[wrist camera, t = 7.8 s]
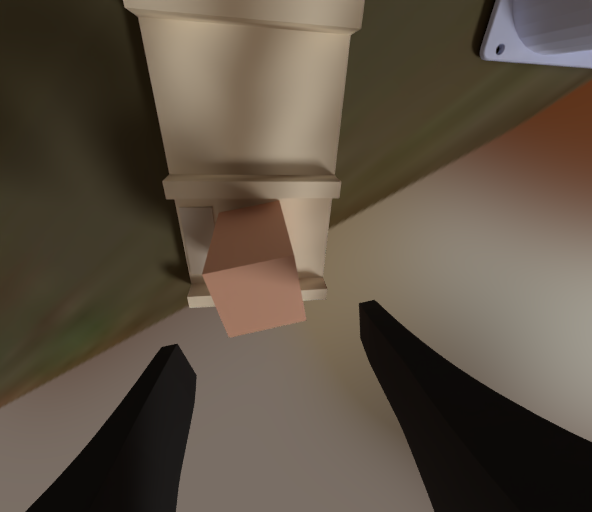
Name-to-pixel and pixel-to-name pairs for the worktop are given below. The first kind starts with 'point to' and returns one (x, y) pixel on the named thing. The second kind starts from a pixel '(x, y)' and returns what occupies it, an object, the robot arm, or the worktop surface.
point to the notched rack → (250, 116)
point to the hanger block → (253, 270)
